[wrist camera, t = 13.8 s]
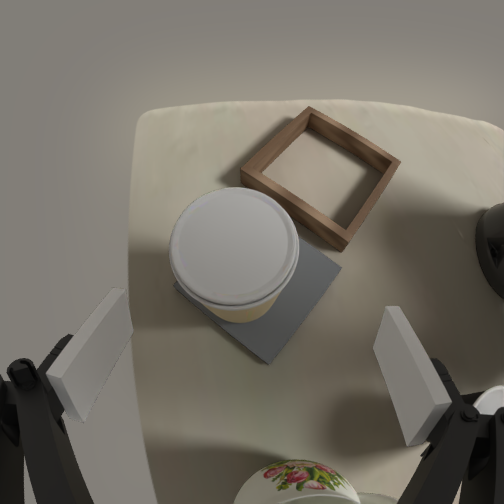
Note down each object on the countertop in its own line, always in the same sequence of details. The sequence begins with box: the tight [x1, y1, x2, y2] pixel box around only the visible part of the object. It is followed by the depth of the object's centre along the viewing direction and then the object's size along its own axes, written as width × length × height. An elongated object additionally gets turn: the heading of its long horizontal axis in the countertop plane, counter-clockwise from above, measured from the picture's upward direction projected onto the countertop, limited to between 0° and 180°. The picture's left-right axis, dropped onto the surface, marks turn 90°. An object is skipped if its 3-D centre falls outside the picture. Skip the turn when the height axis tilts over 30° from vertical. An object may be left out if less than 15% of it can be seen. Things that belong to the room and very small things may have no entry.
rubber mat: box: [173, 236, 342, 365], centre depth 33 cm, size 13×13×1 cm
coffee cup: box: [169, 187, 299, 323], centre depth 27 cm, size 9×9×12 cm
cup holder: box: [240, 106, 401, 252], centre depth 38 cm, size 15×15×3 cm
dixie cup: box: [426, 385, 504, 443], centre depth 22 cm, size 8×8×11 cm
